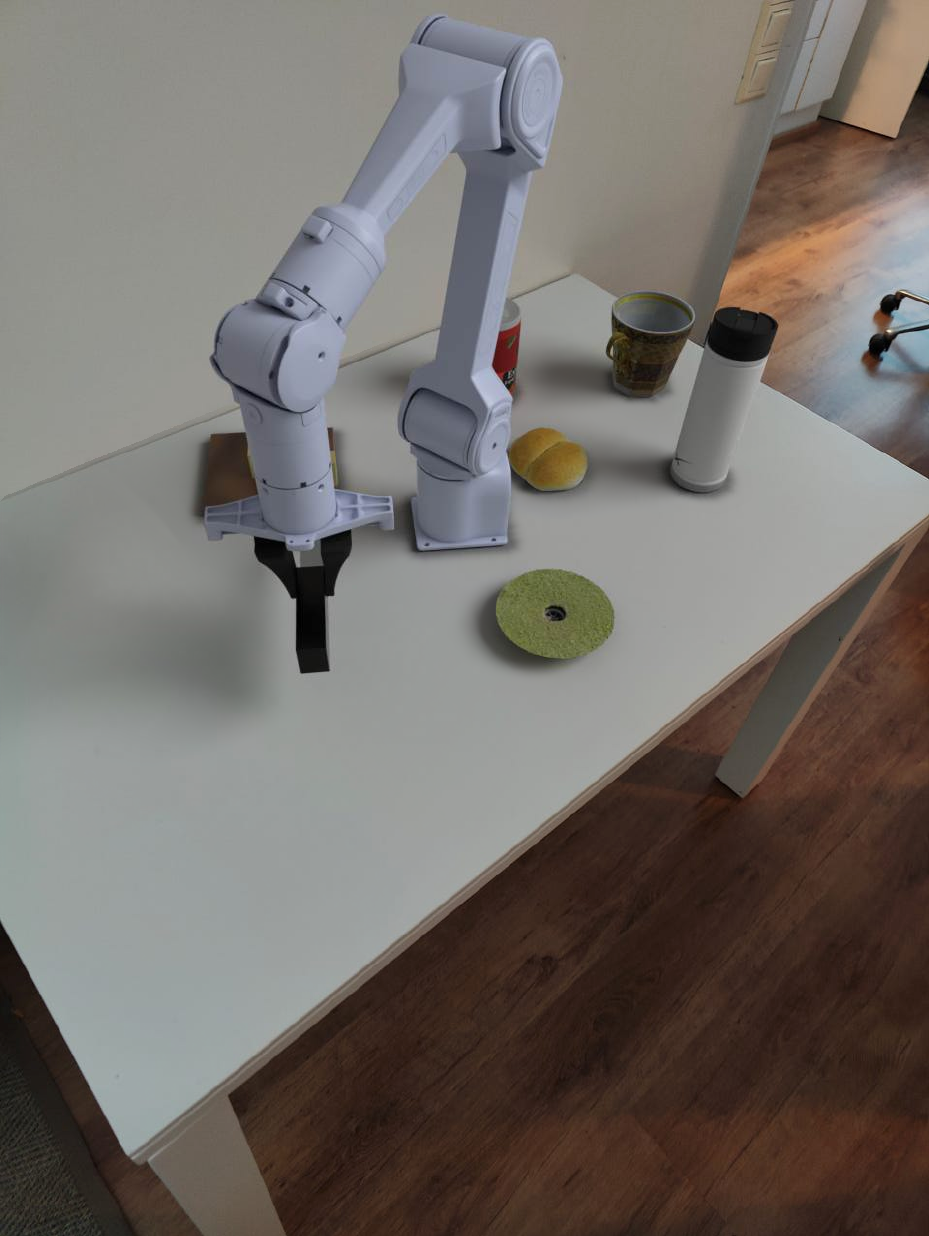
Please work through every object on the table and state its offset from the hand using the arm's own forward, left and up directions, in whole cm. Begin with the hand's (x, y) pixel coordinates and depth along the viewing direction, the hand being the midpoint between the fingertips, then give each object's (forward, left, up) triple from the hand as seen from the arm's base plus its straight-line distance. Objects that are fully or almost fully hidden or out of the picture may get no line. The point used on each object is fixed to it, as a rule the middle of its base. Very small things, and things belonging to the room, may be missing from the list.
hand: (312, 589), depth 71 cm
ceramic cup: (-40, -38, -8) cm, 56 cm away
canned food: (-21, -39, -8) cm, 45 cm away
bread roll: (-26, -23, -8) cm, 36 cm away
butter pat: (0, -22, -6) cm, 23 cm away
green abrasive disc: (-22, 0, -8) cm, 23 cm away
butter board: (+5, -25, -8) cm, 26 cm away
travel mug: (-43, -20, -8) cm, 48 cm away
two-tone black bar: (0, -2, -1) cm, 2 cm away
